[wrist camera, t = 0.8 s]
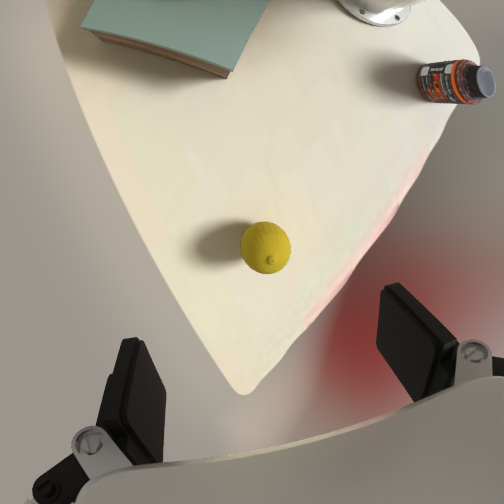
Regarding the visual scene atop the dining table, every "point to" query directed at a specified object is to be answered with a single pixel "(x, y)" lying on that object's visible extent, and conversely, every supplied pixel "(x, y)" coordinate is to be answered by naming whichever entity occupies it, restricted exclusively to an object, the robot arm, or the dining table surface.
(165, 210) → the dining table surface
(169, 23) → the lid
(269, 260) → the lemon
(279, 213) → the dining table surface
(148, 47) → the box
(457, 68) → the supplement bottle
